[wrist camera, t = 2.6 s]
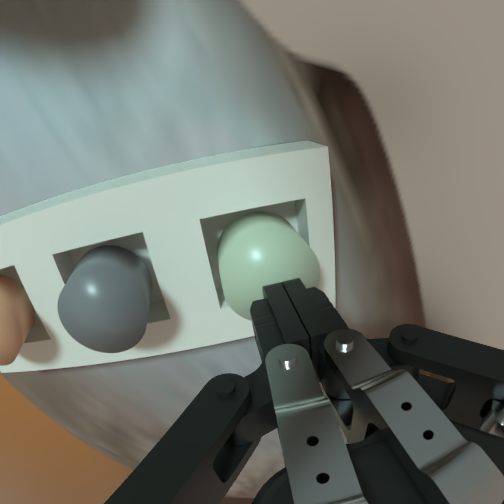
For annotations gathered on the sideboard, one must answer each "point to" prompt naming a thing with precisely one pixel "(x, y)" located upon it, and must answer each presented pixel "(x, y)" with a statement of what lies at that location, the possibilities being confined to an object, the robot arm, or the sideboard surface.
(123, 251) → the charcoal button
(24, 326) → the terracotta button
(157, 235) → the button board
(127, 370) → the sideboard surface
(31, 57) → the sideboard surface
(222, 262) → the sage button
